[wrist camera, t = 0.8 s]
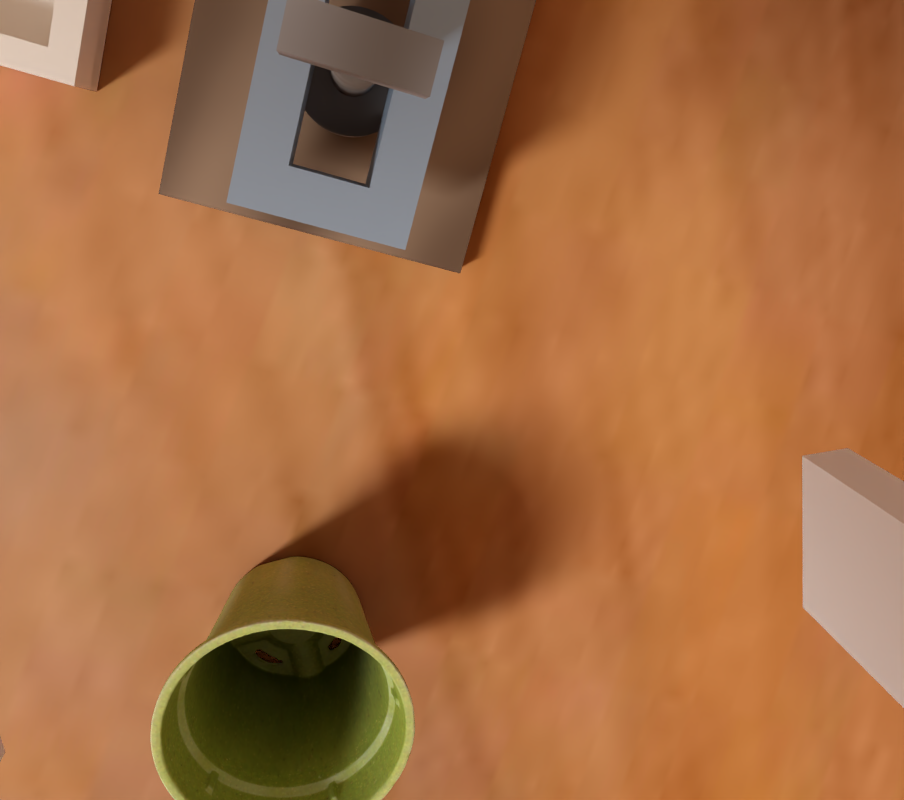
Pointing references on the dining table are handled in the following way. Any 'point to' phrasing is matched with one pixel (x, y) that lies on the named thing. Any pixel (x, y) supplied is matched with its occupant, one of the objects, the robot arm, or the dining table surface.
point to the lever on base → (350, 105)
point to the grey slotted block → (395, 153)
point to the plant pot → (285, 697)
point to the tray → (55, 38)
